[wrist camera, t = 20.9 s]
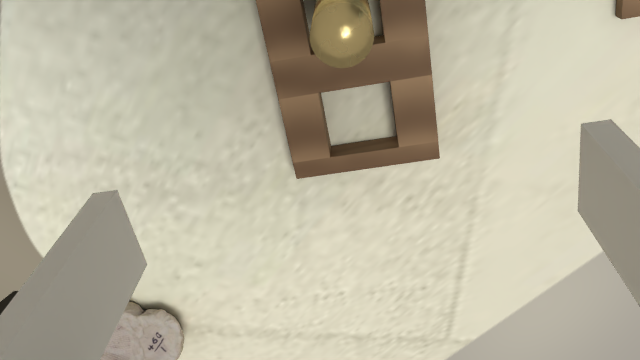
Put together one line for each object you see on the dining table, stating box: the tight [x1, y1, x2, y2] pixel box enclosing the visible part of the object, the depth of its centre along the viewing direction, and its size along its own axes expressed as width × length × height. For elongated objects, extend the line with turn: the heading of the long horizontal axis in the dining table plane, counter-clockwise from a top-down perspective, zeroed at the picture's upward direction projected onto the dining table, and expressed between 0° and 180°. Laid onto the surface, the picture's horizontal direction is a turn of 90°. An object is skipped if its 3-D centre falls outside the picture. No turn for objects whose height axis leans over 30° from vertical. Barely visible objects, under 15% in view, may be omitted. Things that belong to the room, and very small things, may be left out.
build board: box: [256, 0, 440, 179], centre depth 41 cm, size 16×11×2 cm
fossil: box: [100, 302, 184, 360], centre depth 54 cm, size 9×6×10 cm
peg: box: [310, 0, 374, 68], centre depth 36 cm, size 4×4×9 cm
